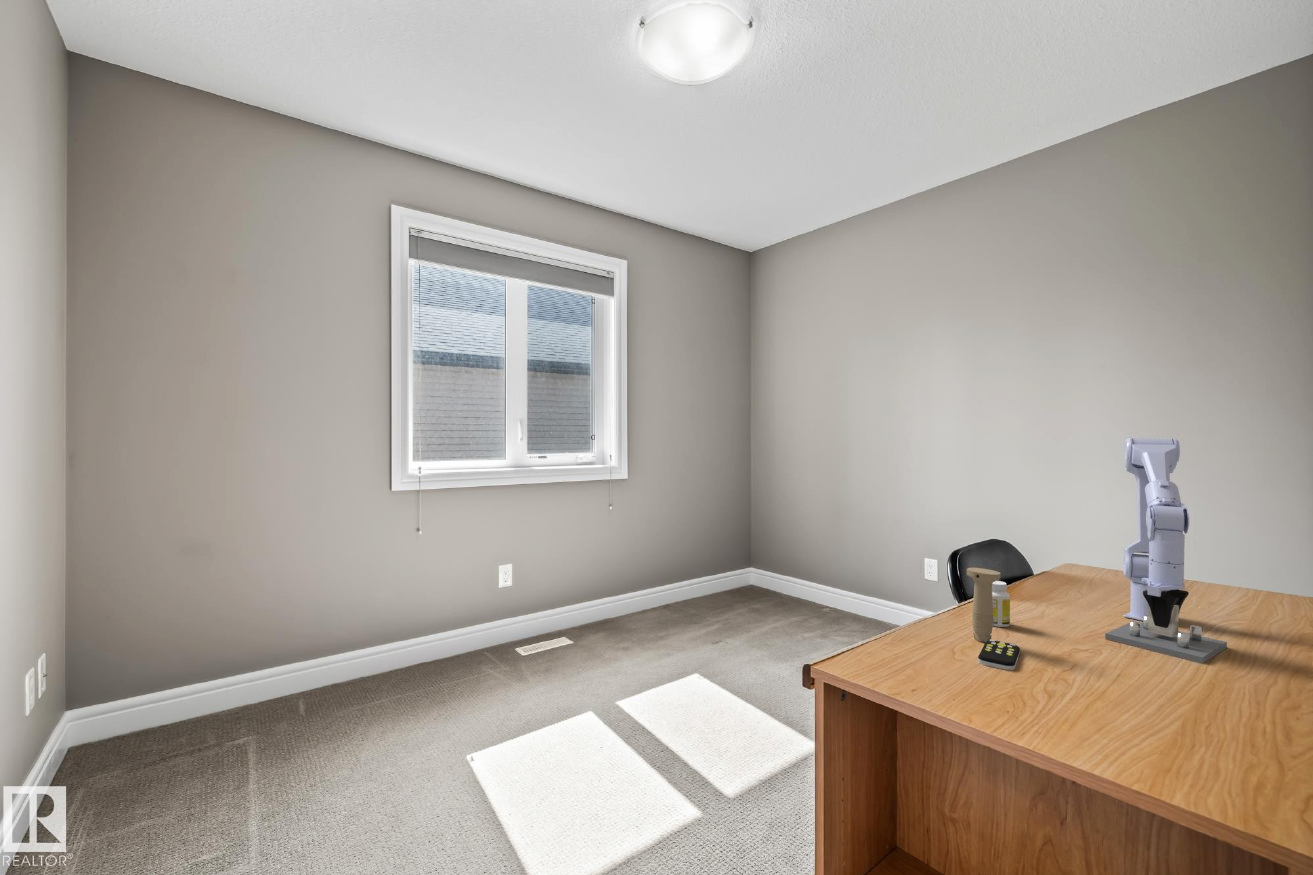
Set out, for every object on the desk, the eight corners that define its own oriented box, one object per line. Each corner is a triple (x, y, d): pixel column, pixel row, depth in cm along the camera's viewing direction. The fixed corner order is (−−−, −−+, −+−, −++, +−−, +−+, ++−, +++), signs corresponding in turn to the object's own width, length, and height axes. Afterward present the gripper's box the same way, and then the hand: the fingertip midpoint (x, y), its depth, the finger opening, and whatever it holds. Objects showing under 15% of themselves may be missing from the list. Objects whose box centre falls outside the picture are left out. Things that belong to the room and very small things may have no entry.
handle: (973, 633, 130) (973, 566, 130) (1003, 642, 125) (1004, 572, 125) (961, 637, 127) (962, 569, 127) (992, 646, 122) (993, 575, 122)
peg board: (1133, 626, 136) (1133, 609, 136) (1226, 647, 123) (1227, 628, 123) (1105, 638, 128) (1105, 620, 128) (1202, 663, 114) (1202, 643, 114)
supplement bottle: (1006, 621, 139) (1007, 580, 139) (1012, 628, 134) (1013, 586, 134) (981, 619, 141) (981, 578, 140) (985, 626, 135) (986, 584, 135)
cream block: (1154, 628, 128) (1155, 601, 128) (1178, 633, 125) (1178, 605, 125) (1147, 631, 126) (1148, 603, 126) (1171, 637, 123) (1172, 608, 123)
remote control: (976, 665, 113) (976, 655, 113) (986, 646, 123) (986, 637, 123) (1013, 673, 109) (1014, 663, 109) (1020, 653, 120) (1020, 644, 120)
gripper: (1155, 554, 132) (1154, 614, 133) (1130, 561, 124) (1129, 625, 125) (1196, 560, 127) (1195, 622, 127) (1172, 568, 119) (1171, 634, 119)
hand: (1165, 624), depth 125 cm, fingers open, 4 cm apart
